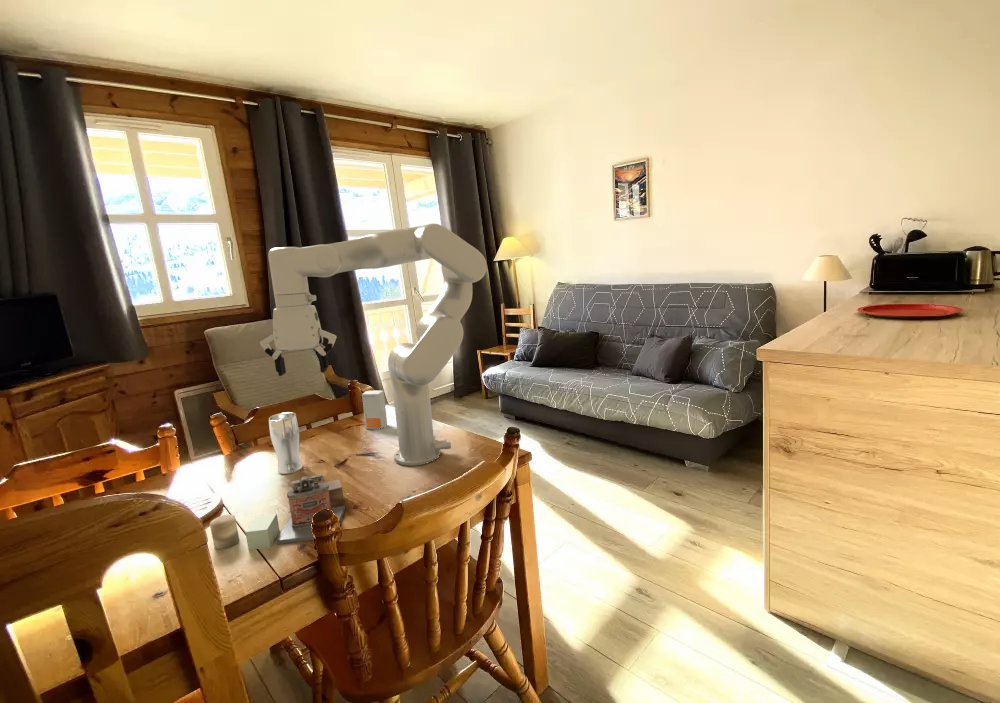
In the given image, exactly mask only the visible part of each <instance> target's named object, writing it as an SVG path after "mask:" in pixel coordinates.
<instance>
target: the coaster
mask: <svg viewBox="0 0 1000 703" xmlns="http://www.w3.org/2000/svg"><path fill="white" fill-rule="evenodd" d="M331 510H332V511H333V513H334V514H335V515H336V516H338V518H339V521H340V523H341V522H342V519H343V516H344V513H345V511H346V507H345V505H343V506H339V507H333V508H331ZM276 538H277V539H275V540H276V544H277V545H281V544H288V543H297V542H306V541H315V540H314V537H313V534H312V531H311V526H310V527H306V528H300V529H293V528H292V517H291V516H290V517H289V518H288V520H287V521H286V523H285V525H284V527H283V528H282V530H281V532H280V533H279V535H278V537H276Z"/></svg>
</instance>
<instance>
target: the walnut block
mask: <svg viewBox="0 0 1000 703" xmlns="http://www.w3.org/2000/svg"><path fill="white" fill-rule="evenodd" d="M325 483H328V485H329V489H328V491H329V498H330V505H331V508H333V507H342V506H345V498H344V492H343V491H344V490H343V486H342V484H341V481H340V479H335V480H330V481H327V482H325Z"/></svg>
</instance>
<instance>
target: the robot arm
mask: <svg viewBox="0 0 1000 703" xmlns="http://www.w3.org/2000/svg"><path fill="white" fill-rule="evenodd" d="M267 254H268V255H267V256H268V264H269V271H270V275H271V276H270V278H271V281H272V282H271V283H272V291H273V296H274V297H273V298H274V302H275V308H273V312H272V330H273V331H272V334H270V335H269V336H267V337H265V338H264V339H262V340H260V341H259V345H260V346H261V348H262V349H263V350H264V352H265V353H266V354H267V355H268V356H270V358H272V360H274V365H275V372H276V373H278V376H279V377H282V376H283V375H285V374H287V370H286V364H285V357H284V356H282V355H283V353H285V352H286V351H287V352H288V351H300V350H302V351H303V350H304V351H305V350H313V349H314V350H315V351H317V352H318V354H319V356H318V362H319V369H320V373H325V372H326V371H327V370H328V368H329V359H328V354H329V353H330V351H331V350H332V349H333V347H334V344H335V342H336V341H337V340H336V339H337V338H338V337H337V335H336V334H333V333H331V332H329V331H326V330H323V329H322V327H321V323H320V322H321V321H320V318H319V315H318V310H317V309H316V306H315V305H312V302H314V301H317V295H316V294H311V292H310V289H309V280H308V277H318V278H330V277H332V276H334V275H336V274H340V273H345V272H350V271H358V270H369V269H371V270H372V269H373V270H375V269H382V268H383V269H384V268H388V267H394V266H399V265H404V264H408V263H409V264H410V263H413V262H418V261H424V260H429V259H430V260H431V259H433V260H434V261H435V262H437V263H438V264H440V265H441V266H440V267H441V273H442V278H443V287H442V290H441V292H440V293H439V295H438V296H437V298H436V299H435V301H434V302H433V303H432V305H431V306H430V307H429V309H428V310H427V311H426V312H425V313H424V314H423V316H422V317H421V318H420V319H419V321H418V322H417V324H416V327H415V335H416V338H417V339H418V341H417V343H416V344H414V343H411V342H405V343H400V344H398V345H396V346H395V347H393V349H392V350H391V352H390V353H389V356H388V360H387V364H388V365H387V366H388V373H389V376H390V377H389V378H390V382H391V386H392V394H393V401H394V411H395V420H396V429H397V430H396V431H397V438H398V448H399V449H398V450H396V452H395V453H394V458H393V459H394V461H395V462H396V463H397V464H398V465H401V466H407V467H408V466H409V467H410V466H411V467H412V466H413V467H414V466H422V465H426V464H425V463H427V462H430V461H432V460H434V459H435V458H437V457H438V456H439V455H440V456H441V454H440V452H441V450H450V449H452V445H451V443H452V442H451V441H447V440H446V439H442V440H438V439H436V435H434V429H433V428H434V427H433V419H432V418H433V417H432V406H431V395H430V387H429V384H430V383H431V382H433V381H434V380H435V379H436V378H437V377H438V376H439V375H440V373H441V372H442V370H443V369H444V367H446V365H447V364H448V363H449V361H450V360H451V359H452V358H453V357H454V355H455V354H456V352H457V351H458V349H459V348H460V346H461V344H462V342H463V339H464V328H463V324H462V322H461V320H462V318H463V317H464V316H465V314H466V313H467V311H468V310H469V308H470V306H471V303H472V300H473V283H476V282H479V281H480V280H482V279H483V278H484V276H485V275H486V273H487V267H488V264H487V260H486V258H485V256H484V255H483V253H481V252H480V251H479V249H478V248H476V247H474V246H473V245H471V244H470V243H468V242H467V241H466V240H464V239H463V238H461V237H460V236H459V235H457V233H456V234H455V233H454V232H453V231H451V230H450V229H448V228H447V227H445V226H443V225H442V224H439V223H429V224H424V225H418V226H413V227H405V228H400V229H395V230H394V229H393V230H389V231H383V232H382V231H381V232H377V233H376V232H375V233H372V234H371V233H370V234H366V235H365V236H360V237H357V238H354V239H350V240H344V241H340V242H333V243H327V244H325V243H324V244H322V243H321V244H316V245H310V246H302V247H297V246H282V247H273V248H270V249H269V251H268V253H267ZM324 338H325V339H328V342H327V344H326V346H325V345H323V343H324ZM272 341H273V343H274V348H273V347H271V345H270V342H272ZM275 349H276V350H275ZM441 453H442V452H441ZM440 456H439V457H440ZM439 457H438V458H439ZM438 458H437V459H438ZM434 461H435V460H434ZM432 462H433V461H432ZM430 463H431V462H430ZM427 464H428V463H427Z"/></svg>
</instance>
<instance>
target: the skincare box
mask: <svg viewBox="0 0 1000 703" xmlns="http://www.w3.org/2000/svg"><path fill="white" fill-rule="evenodd" d="M361 397H362V405H363V406H362V408H363V416H364V425H365V429H367V430H368V429H372V430H375V429H376V430H383V429H384V428H385V427H387V425H388V419H387V411H386V410H387V408H386V399H385V398H386V397H385V391H384V390H376V389H375V390H366V391H364V392H363V393H361ZM383 427H384V428H383ZM380 428H381V429H380ZM382 428H383V429H382Z"/></svg>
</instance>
